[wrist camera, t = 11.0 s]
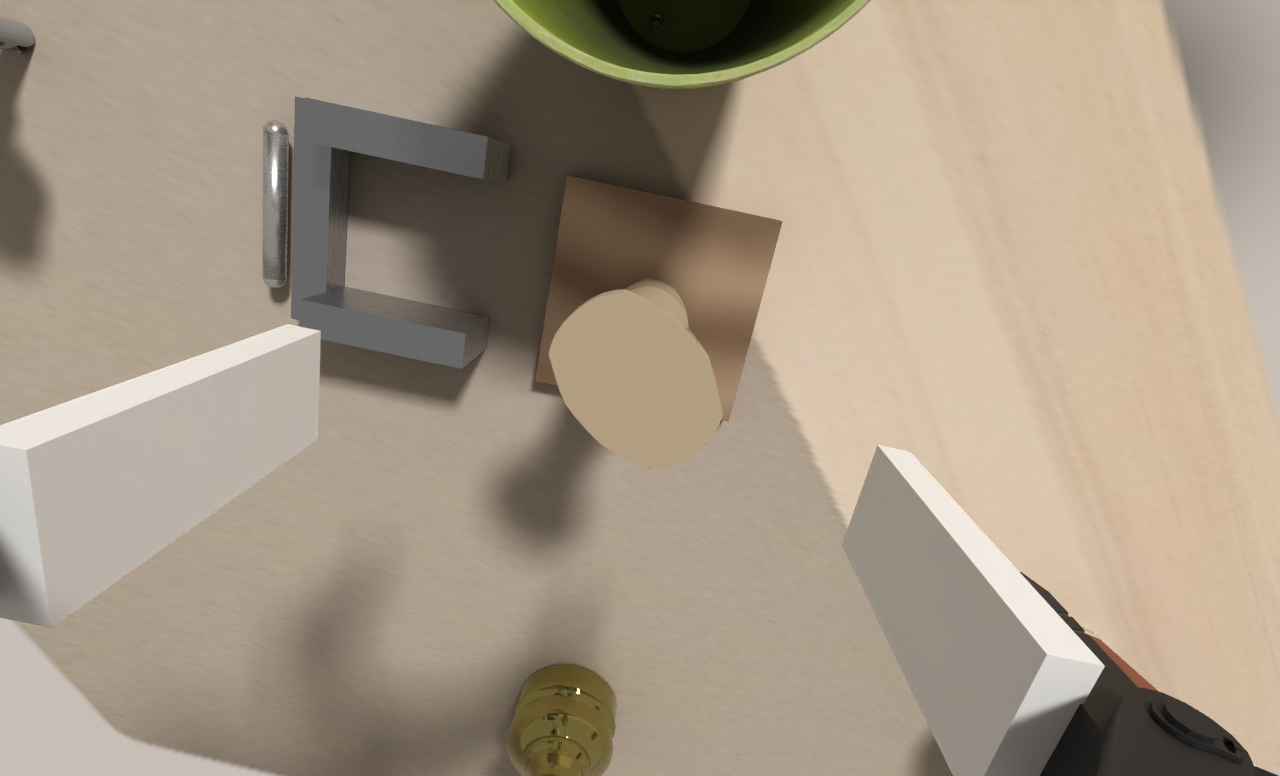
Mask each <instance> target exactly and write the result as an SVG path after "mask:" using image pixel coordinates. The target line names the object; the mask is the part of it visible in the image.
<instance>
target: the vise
mask: <svg viewBox="0 0 1280 776" xmlns="http://www.w3.org/2000/svg"><path fill="white" fill-rule="evenodd" d="M511 146H512V144H510V143H507V142H504V141H500V140H497V139H494V138H491V137H487V136H482V135H478V134H473V133H468V132H464V131H459V130H454V129H450V128H445V127H440V126H436V125H431V124H426V123H422V122H417V121H412V120H408V119H403V118H398V117H394V116H389V115H384V114H380V113H375V112H370V111H366V110H361V109H356V108H352V107H347V106H342V105H338V104H333V103H328V102H324V101H319V100H315V99H310V98H305V99H304V98H300V97H295V132H294V188H293V245H292V302H291V318H292V319H297V320H300V327H304V328H309V329H314V330H319V331H321V340H326V341H331V342H335V343H340V344H345V345H350V346H354V347H359V348H364V349H369V350H374V351H378V352H383V353H388V354H393V355H397V356H402V357H407V358H412V359H417V360H421V361H426V362H431V363H436V364H441V365H445V366H450V367H455V368H460V369H462V368H464V367H465V366H466V365H467V364H468V363H470V362H471V361H472V360H473V359H474V358H476V357H477V356H478V355H479V354H480V353H482V352H483V351H484V350H485V349H486V345H487V337H488V329H489V321H490V317H485V316H481V315H476V314H471V313H466V312H462V311H457V310H452V309H447V308H443V307H438V306H433V305H428V304H424V303H419V302H414V301H409V300H405V299H400V298H395V297H390V296H386V295H381V294H376V293H371V292H367V291H362V290H357V289H352V288H348V287H344V280H345V258H346V236H347V214H348V193H349V171H350V151H352V152H357V153H361V154H366V155H371V156H375V157H380V158H385V159H389V160H394V161H399V162H403V163H408V164H413V165H418V166H422V167H427V168H432V169H436V170H441V171H446V172H450V173H455V174H460V175H464V176H469V177H474V178H478V179H483V180H497V181H507V178H508V170H509V162H510V154H511ZM288 153H289V133H288V130H287V128H286V127H285V126H284V125H283V124H282V123H280V122H278V121H269V122H267V123H266V124H265V125H264V127H263V280H264V282H265V283H266V284H267V285H268V286H270V287H273V288H279V287H281V286H283V285H284V284H285V283H286V280H287V221H288Z"/></svg>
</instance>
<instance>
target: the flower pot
mask: <svg viewBox="0 0 1280 776" xmlns="http://www.w3.org/2000/svg"><path fill="white" fill-rule="evenodd" d="M494 1H495V3H496V4H497V5H498V6H499V7H500V8H501V9H502V10H503V11H504V12H505V13H506V14H507V15H508V16H509V17H510V18H511V19H512V20H513V21H514V22H515V23H516V24H518V25H519V26H520V27H521V28H522V29H523V30H525V31H526V32H527V33H528V34H529V35H530V36H532V37H533V38H535V39H536V40H537V41H539V42H540V43H542V44H543V45H544V46H546V47H547V48H548V49H550V50H552V51H553V52H555V53H557V54H558V55H560V56H562V57H563V58H565V59H567V60H569V61H571V62H573V63H575V64H577V65H579V66H581V67H583V68H586V69H588V70H591V71H593V72H596V73H598V74H601V75H603V76H607V77H610V78H613V79H616V80H619V81H622V82H626V83H630V84H635V85H639V86H645V87H652V88H660V89H697V88H704V87H712V86H717V85H722V84H727V83H731V82H734V81H737V80H741V79H744V78H747V77H750V76H753V75H755V74H758V73H761V72H763V71H766V70H768V69H771V68H773V67H775V66H778V65H780V64H782V63H784V62H786V61H788V60H791V59H792V58H794V57H796V56H798V55H800V54H801V53H803V52H805V51H807V50H808V49H810V48H812V47H813V46H815V45H816V44H818V43H819V42H821V41H822V40H824V39H825V38H827V37H829V36H830V35H831V34H833V33H834V32H835V31H837V30H838V29H839V28H840V27H842V26H843V25H844V24H845V23H846V22H848V21H849V20H850V19H851V18H852V17H854V16H855V15H856V14H857V13H858V12H859V11H860V10H861V9H862V8H863V7H864V6H865V5H866V4H867V3H868V2H870V1H871V0H494ZM653 17H659V18H660V19H661V23H660V24H659V25H658V26H655V25H653V24H652V22H651V19H652V18H653Z"/></svg>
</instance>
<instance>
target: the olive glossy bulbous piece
mask: <svg viewBox="0 0 1280 776" xmlns="http://www.w3.org/2000/svg"><path fill="white" fill-rule="evenodd" d="M616 708H617V705H616V698H615V695H614V693H613V691H612V689H611V687H610V686H609V685H608V683H607V682H606V681H605V680H604V679H603V678H601V677H600V676H599V675H598V674H596V673H594V672H593V671H591V670H588V669H586V668H583V667H580V666H575V665H566V664H563V665H553V666H549V667H546V668H543V669H541V670H539V671H537V672H536V673H534V674H533V675H532V676H531V677H530V678H529V679H528V680H527V681H526V682H525V684H524V686H523V688H522V691H521V694H520V698H519V701H518V703H517V705H516V707H515V710H514V718H513V721H512V723H511V726H510V728H509V730H508V733H507V738H506V749H507V753H508V757H509V759H510V761H511V763H512V765H513V766H514V768H515V769H516V770H517V772H518V773H519V774H520V775H521V776H602V775H603V774H604V773H605V771H606V770H607V768H608V767H609V764H610V762H611V759H612V754H613V740H612V739H613V736H614V733H615V717H616Z"/></svg>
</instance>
